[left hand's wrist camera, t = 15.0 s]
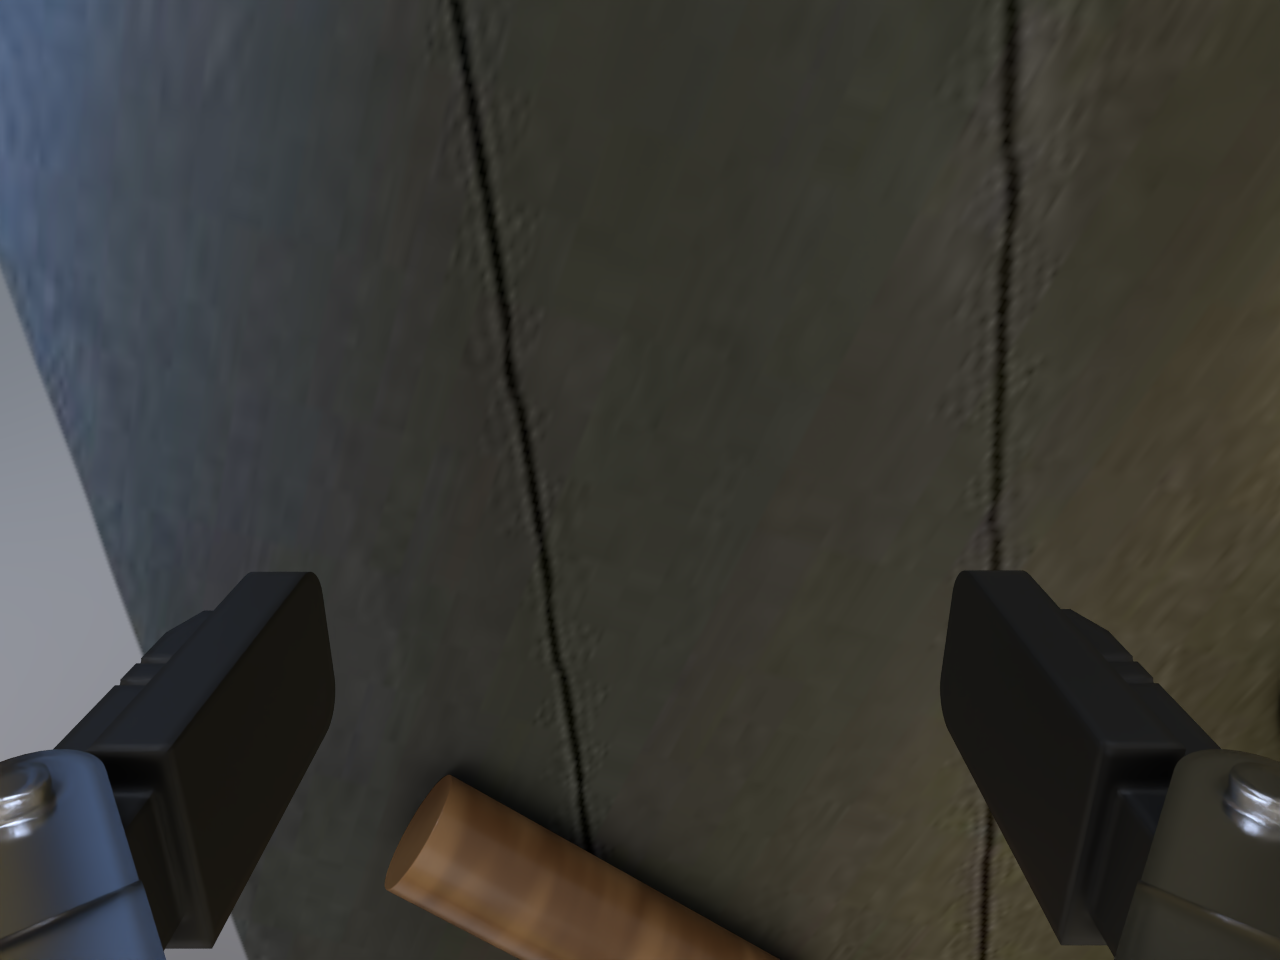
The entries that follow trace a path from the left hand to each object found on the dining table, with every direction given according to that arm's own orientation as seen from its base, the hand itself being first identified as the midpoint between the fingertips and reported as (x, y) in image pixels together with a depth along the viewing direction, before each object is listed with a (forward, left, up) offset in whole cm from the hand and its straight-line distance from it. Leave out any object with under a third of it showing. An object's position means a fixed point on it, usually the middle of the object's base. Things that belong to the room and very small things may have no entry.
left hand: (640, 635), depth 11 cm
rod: (+18, +29, -29) cm, 45 cm away
